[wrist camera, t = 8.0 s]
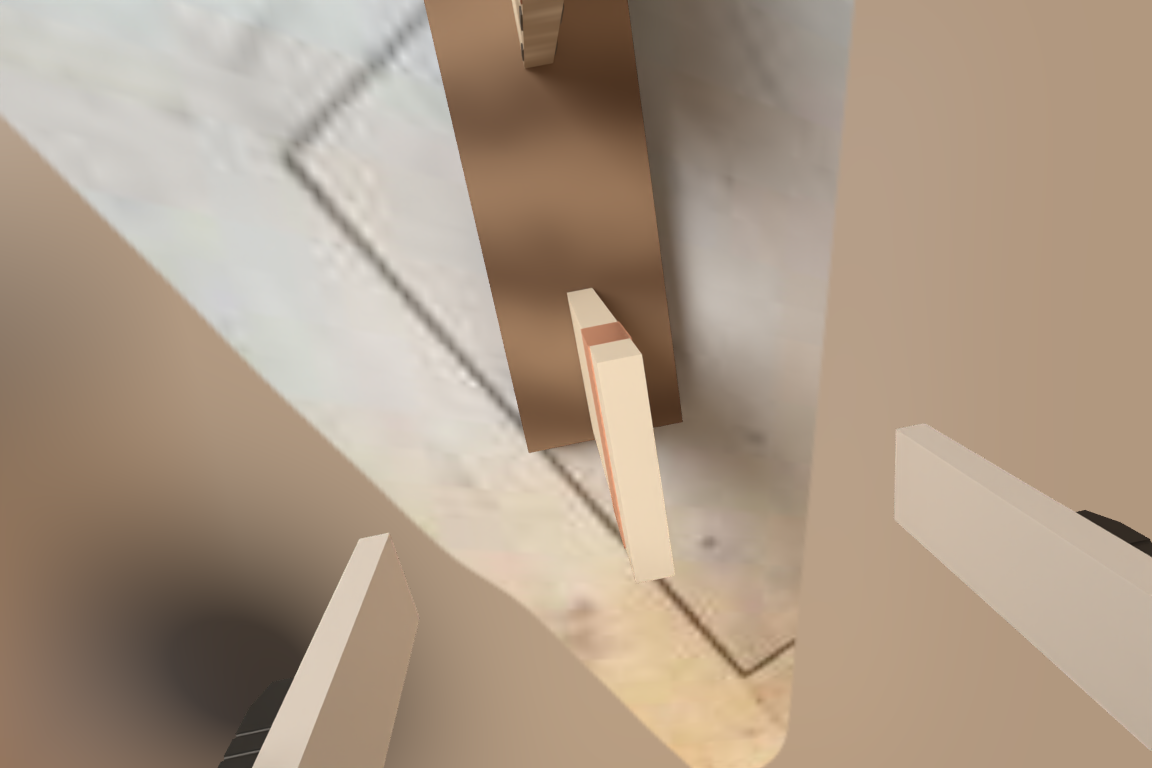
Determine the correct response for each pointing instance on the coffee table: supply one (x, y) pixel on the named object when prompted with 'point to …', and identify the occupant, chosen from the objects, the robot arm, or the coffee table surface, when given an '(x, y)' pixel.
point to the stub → (623, 433)
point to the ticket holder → (557, 192)
